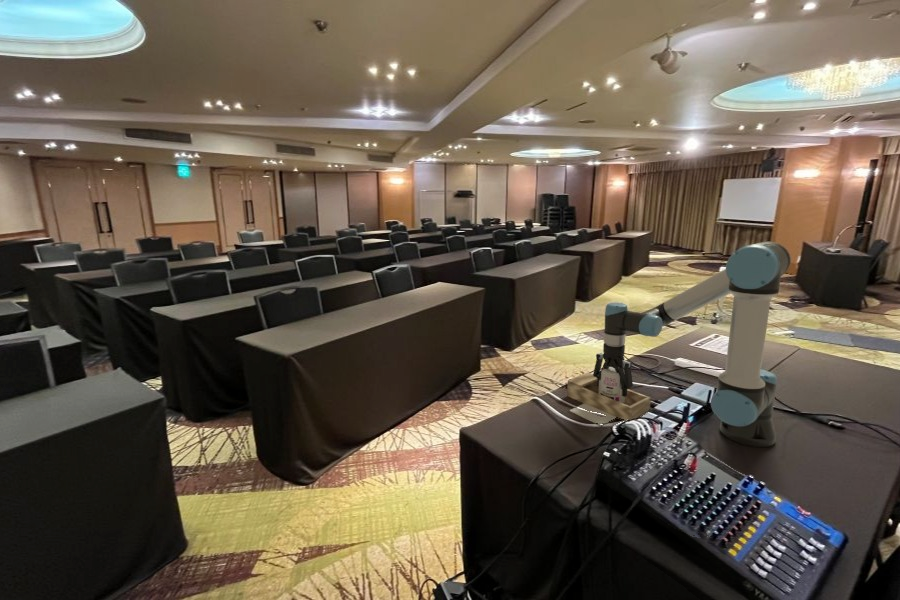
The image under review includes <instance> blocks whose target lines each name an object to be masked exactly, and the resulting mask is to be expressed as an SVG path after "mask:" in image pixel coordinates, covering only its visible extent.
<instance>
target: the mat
mask: <svg viewBox="0 0 900 600" xmlns="http://www.w3.org/2000/svg"><path fill="white" fill-rule="evenodd" d="M577 407H580V408H583V409H585V410H587V411H589V412H587V411H582V410H580V409H577V408H575V407H574V408H572V409H569V412H570V413H573V414H574V415H577V416H579V417H580V418H583V419H584V420H587V421H590V422H591V423H594V424H596V423H598V424H602V423H607V424H609V423H610V422H612V421H614V420H616V419H617V418H616V417H615V416H613V415H611V414H608V413H606V412H604V411H601V410H599V409H597V408H594V407H592V406H590V405H588V404H585V403H581V404H580V405H578V406H577ZM590 411H592V412H597V413H601V414H604V415H606V416H607V417H600V416H597V415H595V414H592V413H590ZM615 418H616V419H615ZM613 419H614V420H613ZM611 420H612V421H611ZM609 421H610V422H609ZM598 424H597V425H598Z"/></svg>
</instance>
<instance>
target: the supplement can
mask: <svg viewBox="0 0 900 600" xmlns="http://www.w3.org/2000/svg"><path fill="white" fill-rule="evenodd" d="M620 388H621V384H620V376H619V373H617V372H616V371H615V368H613V367H609V368H606V369H604V368H603V370H602V372H601V388H600V394H601V395H603V396H606V397H608V398H611V399H613V400H616V401H618V402H619V390H620Z"/></svg>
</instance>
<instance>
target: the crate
mask: <svg viewBox="0 0 900 600" xmlns="http://www.w3.org/2000/svg"><path fill="white" fill-rule="evenodd" d="M597 380H598V379H597V378H596V377H594V376H593V373H591V372H588V371H587V372H585V373H583V374H580V375H577V376H575V377H573V378H570V379H568V380H567V384H566V385H567V387H566V390H567V391H566V393H567V394H566V396H567V397H568V398H571V399H572V400H575V401H578V402H579V403H581V404H584V403H585V404H588V405H590V406H592V407H594V408H597V409H599V410H601V411H604V412H606V413H608V414H611V415H613V416H615V417H618V418H617V419H619V418H621V419H624V420H627V419H633V418H637V417H639V416H640V415H642V414H643V413H645V412H647V411H648V410H649V409H650V410H651V396H648V395H644V394H642V393H639V392H637V391H634V390H632V389H630V388H629V389H627V396H625V403H621V402H618V401H616V400H613V399H611V398H608V397H606V396H603V395H601V394H598V393H599V387H598V386H597ZM621 419H620V420H621Z"/></svg>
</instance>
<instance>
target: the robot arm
mask: <svg viewBox="0 0 900 600" xmlns="http://www.w3.org/2000/svg"><path fill="white" fill-rule="evenodd" d="M791 258H792V257H791V254H790V253H789V250H788V249H787V248H786V247H785V246H784V245H782V244H780V243H777V242H774V241H759V242H757V243H754V244H747V245H744V246H742V247H740V248H739V249H737V250H736V251H734V252H733V253H732V254H731V255H730V256H729V258H728V259H727V262H726V265H725V269H723V270H721V271H719V272H717V273H715V274H714V275H711V276H709V277H708V278H706V279H704V280H703V281H700V282H699V283H697V284H695V285H694V286H692V287H690V288H688V289H686V290H684V291H682V292H681V293H678V294H677V295H675V296H673V297H671V298H670V299H667V300H665V301H664V302H662V303H660V304H658V305H657V306H655V307H652V308H651V309H648V310H645V311H642V312H637V311H632V310H629V309H628V305H627V304H626V303H623V302H609V303H606V305H605V311H604V329H603V330H604V331H603V332H604V333H603V349H602V352H599V353H596V354H595V357H596V361H595V365H594V369H593V373H592V374H593V376H594V377H596V378H597V379H598V380H597V386H598V387H599V393H598V394H600V388H601V372H602V370H603V368H604V369H606V368H609V367H613V368H615V371H616V372H617V373H619V376H620V384H621V388H620V390H619V402H621V403H623V404H624V403H625V396H627V389H629V390H630V389H631V388H633V387H634V383H633V375H632V365H633V364H632V363H633V362H632V361H627V360H625V357H624V356H625V351H626V350H625V349H626V332H628V333H632V334H637V335H642V336H645V337H652V338H655V337H656V338H657V337H658V336H659V335H660V333H661V332H662V329H663V327H665V326H668V325H670V324H671V323H674V322H675V321H677V320H678V319H681V318H683V317H685V316H687V315H690V314H691V313H693V312H695V311H698V310H700V309H701V308H704V307H705V306H708V305H709V304H712V303H714V302H715V301H718V300H720V299H721V298H723V297H724V298H725V297H727V296H728V295H730V294H732V295H733V300H732V312H731V317H730V318H731V319H730V328H729V336H728V345H727V352H726V359H725V369H724V371H723V372H721V373H719V374H718V377H717V386H716V391H715V392H714V393H713V394H712V396H711V399H710V407H711V410H712V412H713V413H714V415H716V417H718V419H719V420H720V424H719V431H720V433H721V434H722V435H723V436H725V437H726V438H728V439H730V440H731V441H734V442H736V443H739V444H741V445H744V446H750V447H755V448H757V447H758V448H767V447H771V446H773V445H774V444H775V443H776V440H777V438H776V437H777V434H776V430H775V425H774V423H773V412H774V405H775V397H776V393H777V392H776V391H777V386H778V377H777V376H776V375H777V374H775V373H773V372H770V371H768V370H765V369H762V365H763V357H764V350H765V349H764V348H765V343H766V336H767V328H768V322H769V321H768V320H769V316H770V315H769V313H770V306H771V299H772V298H774V297H775V296H777V295H778V294H779V293H780V292H779V291H780V284H781V279H782V278H781V277H782V276H784V274H785V273H787V271H788V270H789V268H790V266H791V262H792V259H791ZM603 360H604V363H603Z"/></svg>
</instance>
